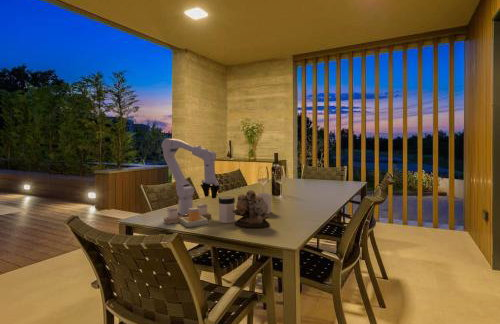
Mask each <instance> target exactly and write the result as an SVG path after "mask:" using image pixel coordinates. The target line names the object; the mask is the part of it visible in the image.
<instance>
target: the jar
mask: <svg viewBox="0 0 500 324" xmlns="http://www.w3.org/2000/svg"><path fill="white" fill-rule="evenodd" d="M235 198H236V197H235V196H232V195H231V196H230V195H229V196H227V195H226V196H225V195H224V196H220V197H218V222H219V223H223V224H229V223H235V222H236V215H235V213H233V210H236V203H235V202H236V199H235Z"/></svg>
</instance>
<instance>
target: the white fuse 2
mask: <svg viewBox="0 0 500 324" xmlns="http://www.w3.org/2000/svg"><path fill="white" fill-rule="evenodd" d="M196 206H197V207H196V208H198V209H199V215H207V213H208V204H206V203H200V204H199V203H198V204H196Z"/></svg>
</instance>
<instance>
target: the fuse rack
mask: <svg viewBox="0 0 500 324" xmlns="http://www.w3.org/2000/svg"><path fill="white" fill-rule="evenodd" d="M201 216H203V217H205V218H209V219H212V213H209V212H207V215H201ZM184 217H189V214H187V215H181V214H179V215H178V219H172V220H168V216H165V217H163V222H164V221H165V222H166V223H167V224H166V223H165V222H164V223H165V224H166V225H172V224H171V223H174V224H179V223H178V222H180V218H184Z"/></svg>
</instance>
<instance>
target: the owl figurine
mask: <svg viewBox="0 0 500 324" xmlns="http://www.w3.org/2000/svg"><path fill="white" fill-rule="evenodd" d="M267 205H268V204H267V203H266V202H265V201H264V200H263V198H262V197H257V193H256V192H255V190H252V189H250V190H249V189H248V191H246V194H244V193H240V194H238V196H237V202H236V205H235V210H233V213H235V216H238V217H240V218H238V219H237V220H235V222H234V225H235V227H237V228H241V229H242V228H243V229H246V230H247V229H249V230H250V229H251V230H255V229H256V230H258V229H260V230H261V229H265V228H269V227H270V226H271V225H270V224H271V223H269V221H268V220H267V219H269V218H270V215H269V214H266V213H267V211H268V206H267Z"/></svg>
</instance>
